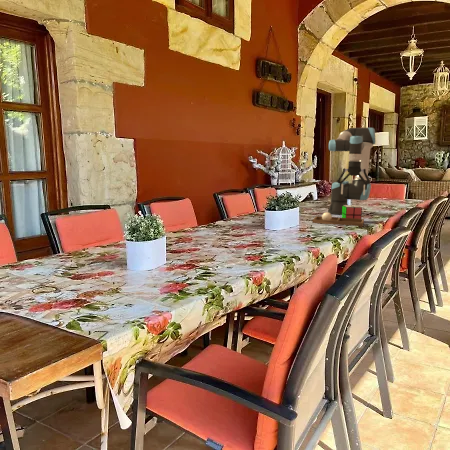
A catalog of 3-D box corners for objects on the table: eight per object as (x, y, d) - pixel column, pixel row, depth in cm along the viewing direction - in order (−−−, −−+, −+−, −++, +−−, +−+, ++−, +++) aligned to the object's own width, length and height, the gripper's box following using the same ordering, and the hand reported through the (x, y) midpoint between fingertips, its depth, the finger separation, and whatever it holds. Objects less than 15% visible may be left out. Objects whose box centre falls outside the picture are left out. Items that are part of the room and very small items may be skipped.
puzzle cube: (361, 222, 270) (362, 207, 269) (345, 222, 271) (346, 207, 269) (356, 220, 280) (357, 205, 278) (341, 220, 280) (342, 205, 279)
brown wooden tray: (316, 220, 277) (316, 216, 276) (363, 223, 266) (364, 219, 266) (312, 224, 263) (312, 219, 262) (362, 227, 252) (362, 222, 252)
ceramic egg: (322, 220, 271) (322, 211, 270) (332, 221, 268) (332, 211, 267) (320, 222, 265) (321, 212, 264) (330, 222, 263) (331, 213, 262)
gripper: (333, 160, 270) (332, 194, 273) (375, 161, 261) (373, 195, 264) (335, 160, 277) (333, 193, 280) (375, 161, 268) (373, 194, 271)
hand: (352, 194), depth 272 cm, fingers open, 13 cm apart
